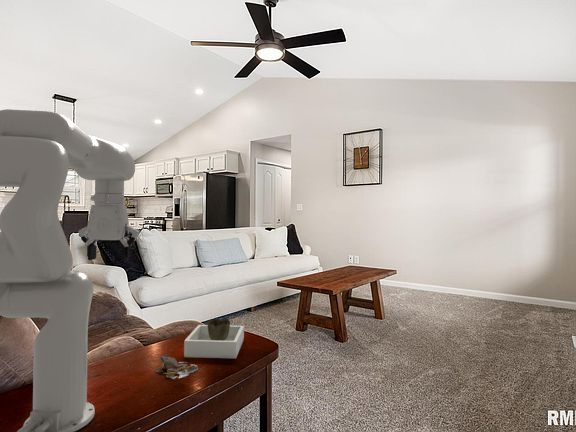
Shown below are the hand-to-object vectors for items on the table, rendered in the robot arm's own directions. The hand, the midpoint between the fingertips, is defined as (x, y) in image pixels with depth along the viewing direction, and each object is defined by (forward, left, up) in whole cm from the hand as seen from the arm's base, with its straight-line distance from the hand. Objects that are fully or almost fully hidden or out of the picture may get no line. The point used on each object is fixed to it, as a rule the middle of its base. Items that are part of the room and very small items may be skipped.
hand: (108, 259), depth 103 cm
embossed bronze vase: (+15, -29, -30) cm, 44 cm away
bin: (+15, -28, -30) cm, 44 cm away
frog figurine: (-2, -20, -31) cm, 37 cm away
